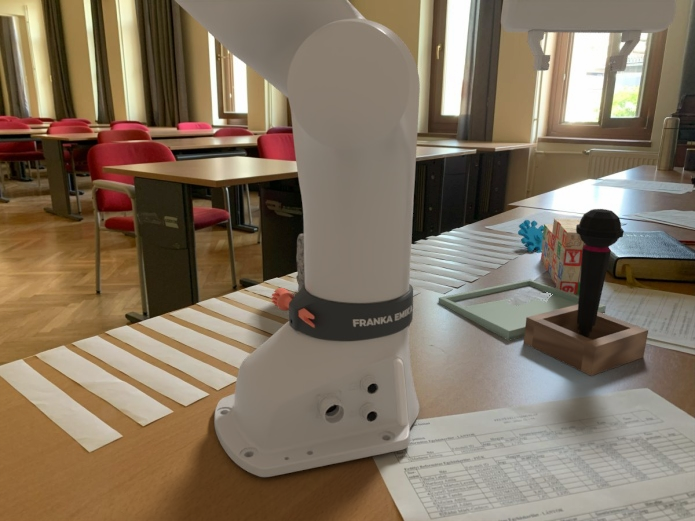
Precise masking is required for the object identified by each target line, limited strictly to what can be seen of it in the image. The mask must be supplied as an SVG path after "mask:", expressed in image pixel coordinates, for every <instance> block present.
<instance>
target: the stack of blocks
mask: <svg viewBox="0 0 695 521" xmlns="http://www.w3.org/2000/svg"><path fill="white" fill-rule="evenodd" d="M580 221H581V218H580V219H577V218H576V219H575V218H553V223H552V224H551V223H550V224H548V223H547V224H546V223H545V224H543V226H544V229H543V231H542V232H543V243H542V250H541V251H542V252H541V253H540V260H541V262H542V265H543V266H544V268H545V269H546V271H547V273H549V276H550V278H551V280H552V281H553V284H554V286H555V288H557V289H560V290H562V291H565V292H568V293H571V294H574V295H579V288H580V275H581V262H582V248H583V246H584V245H585V243H584V242H583V241H582V240H581V237H580V235H579V234H577V232H576V225H578V224H579V223H580Z"/></svg>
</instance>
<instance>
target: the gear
mask: <svg viewBox="0 0 695 521" xmlns="http://www.w3.org/2000/svg"><path fill="white" fill-rule="evenodd" d="M537 225H538V221H536V220H532V221H530V220H529V219H525V220H524V221H523V222H521V223H520V224H519V225H518V228H519V230H518V232H517V235H519V236H521V237H522V238H520V242H521V244H522V245H523V246H524V247H526V249H527V251H528V252H530V253H532V251H534V250H535V249H536V250H537V251H536V253H537V254H542V243H543V229H544V224H542V225H540V226H539V227H538V228H537V227H536V226H537Z"/></svg>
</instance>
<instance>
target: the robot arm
mask: <svg viewBox="0 0 695 521" xmlns="http://www.w3.org/2000/svg"><path fill="white" fill-rule="evenodd" d="M174 2H175V3H177V4H178V5H179V6H180V7H181V8H182V10H184V12H185V11H186V13H188V15H189V16H191V17H192V19H194V21H196V22H197V23H198V24H199V25H200V26H201V27H202V28H203V29H205V30H206V32H208V33H209V34H210V36H212V37H213V38H215V39H216V41H218V43H220V44H221V45H222V46H223V48H225V49H226V50H227V51H228V52H229V53H230V54H231V55H232V56H234V57H236V58H237V59H238V60H240V61H241V62H242V63H243V64H245V65H247V67H249V69H251V70H253V71H254V72H255V73H256V74H258V75H259V76H260V77H262V78H263V79H264V80H265V81H266V82H268V83H269V84H270V85H272V86H273V87H274V88H275V89H276V90H278V91H279V93H281V94H283V96H285V97H286V98H287V99H288V103H289V107H290V114H291V116H290V117H291V126H292V135H293V136H292V137H293V146H294V155H295V163H296V171H297V176H298V184H299V190H300V195H301V202H302V214H303V215H302V216H303V234H304V270H305V282H304V283H303V285H302V286H301V288H300V291H299V292H298V291H297V293H296V294H295V295H294V294H293V293H291V292H289V290H288V289H286V288H284V287H279V288H276V289H275V290H273V293H272V294H271V296H272V297H271V298H270V299H271V302H272V303H273V304H274V306H277V307H278V309H279V310H281V311H283V312H284V311H288V321H287V322H286V323H284V324H283V325H282V326H281V327H280V328H279V329H278V330H276V331H275V332H274V333H273V334H272V335H271V336H270V337H269V338H267V340H266V341H264V342H263V343H262V344H261V345H259V346H258V347H257V348H256V349H255V350H254V351H252V352H251V353H250V354H249V355H248V356H246V358H244V359H243V360H242V362H241V364H240V365H239V369H238V373H237V377H236V381H235V388H234V389H235V390H234V393H232V394H230V395H227V396H224V397H222V398H221V399H220V400H219V401H218V403H217V405H216V407H215V409H214V418H213V420H214V421H213V423H214V431H215V433H216V436H217V439H218V441H219V443H220V445H221V447H222V448H223V450H224V452H225V453H226V454H227V455H228V457H229V458H230V459H231V460H232V461H233V462H234V463H235V464H236V465H237V466H238V467H240V468H241V469H243V470H244V471H247V472H248V473H250V474H252V475H254V476H257V477H259V478H270V477H275V476H279V475H285V474H289V473H295V472H301V471H303V470H309V469H315V468H319V467H324V466H328V465H333V464H339V463H344V462H350V461H354V460H359V459H363V458H368V457H373V456H377V455H383V454H384V455H385V454H388V453H391V452H392V453H393V452H397V451H401V450H405V449H407V448H408V447H409V446H410V444H411V432H410V431H411V427H412V426H413V424H414V423H415V421H416V419H417V418H418V415H419V412H420V404H419V403H420V402H419V399H418V396H417V392H416V387H415V384H414V378H413V372H412V371H413V370H412V362H411V352H410V351H411V350H410V349H411V348H410V329H409V328H410V325H411V324H412V322H413V316H414V288H413V286H412V284H411V282H410V281H411V260H412V259H411V258H412V240H413V239H412V237H413V235H412V234H413V219H414V218H413V217H414V214H413V213H414V200H415V199H414V195H415V181H416V164H417V161H416V160H417V148H418V130H419V128H418V126H419V109H420V95H421V94H420V93H421V92H420V86H421V85H420V76H419V71H418V70H419V69H418V67H417V64H416V63H417V62H416V61H415V58H414V56H413V55H412V52H411V51H410V49H409V48H408V46H407V45H406V43H405V42H404V41H403V40H402V38H401V37H400V36H399V35H397V34H396V33H395V32H394V31H393V30H392V29H390V28H389V27H387V26H385V25H383V24H382V23H379V22H377V21H374V20H370V19H366V18H365V16H363V14H361V12H360V11H359V10H358V9H357V8H356V7H355V6H354V5H353V4H352V2H350V1H349V0H174ZM501 8H502V9H501V15H500V25H501V27H502V29H503V31H504V32H505V33H527V41H526V42H527V45H528V48H529V49H530V51H531V54H532V55H533V57H534V58H533V71H537V72H538V71H540V72H541V71H549V69H550V62H551V54H544V51H543V48H542V45H541V43H540V41H543V40H544V37H545V33H553V34H554V33H558V34H560V33H562V34H563V33H564V34H565V33H569V34H570V33H572V34H573V33H574V34H575V33H577V34H579V33H582V34H583V33H588V34H591V33H593V34H596V33H597V34H605V33H606V34H608V33H609V34H612V33H613V34H621V37H620V43H624V44H623V45H622V47H621V49H620V50H619V51H618V53H617V54H616V55H612V56H609V61H608V63H609V64H608V68H607V70H608V72H625V70H626V68H627V64H628V59H629V58H628V57H629V56H630V55H631V53H632V52H633V51H634V50H635V48H636V46H638V44H639V43H640V42H641V36H642V34H654V33H655V34H656V33H659V32H663V31H665V30H667V29H668V28H669V27H670V26H671V25H672V24H673V23H674V21H675V17H676V8H677V0H503V2H502V7H501Z"/></svg>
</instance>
